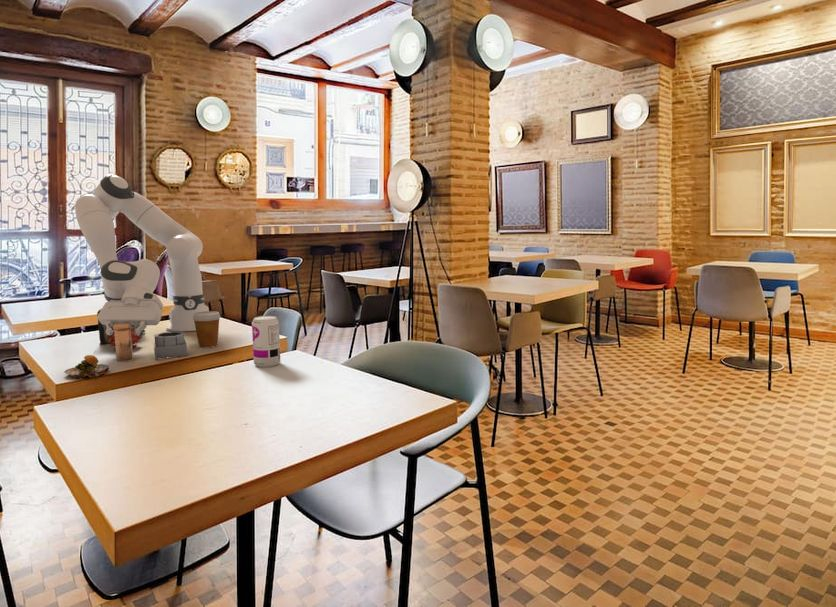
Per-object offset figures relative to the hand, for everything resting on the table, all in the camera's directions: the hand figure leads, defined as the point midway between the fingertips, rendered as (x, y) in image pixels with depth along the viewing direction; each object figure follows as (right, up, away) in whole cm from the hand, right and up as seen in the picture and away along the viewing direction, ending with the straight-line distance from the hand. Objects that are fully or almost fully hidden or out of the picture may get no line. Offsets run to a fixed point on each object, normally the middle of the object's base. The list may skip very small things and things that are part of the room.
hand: (122, 334), depth 195 cm
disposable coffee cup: (+22, -5, +19) cm, 29 cm away
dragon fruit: (-7, -6, +17) cm, 19 cm away
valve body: (+12, -7, +9) cm, 17 cm away
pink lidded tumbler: (+1, -8, 0) cm, 8 cm away
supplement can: (+50, -9, -7) cm, 51 cm away
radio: (-16, -4, +32) cm, 36 cm away
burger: (-2, -12, -17) cm, 20 cm away
